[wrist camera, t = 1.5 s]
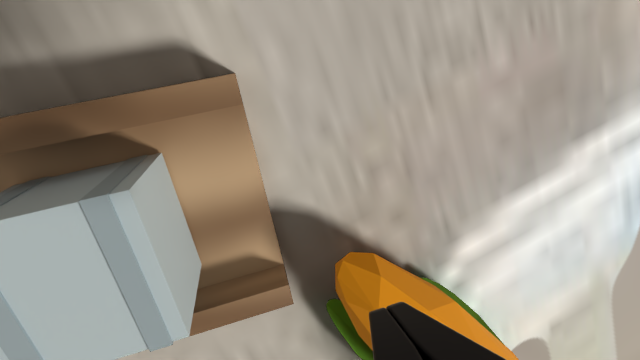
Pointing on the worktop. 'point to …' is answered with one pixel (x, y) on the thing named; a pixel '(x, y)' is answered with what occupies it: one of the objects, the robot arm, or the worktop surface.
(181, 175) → the bay
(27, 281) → the block
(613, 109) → the worktop surface
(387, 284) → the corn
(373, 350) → the robot arm
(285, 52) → the worktop surface
